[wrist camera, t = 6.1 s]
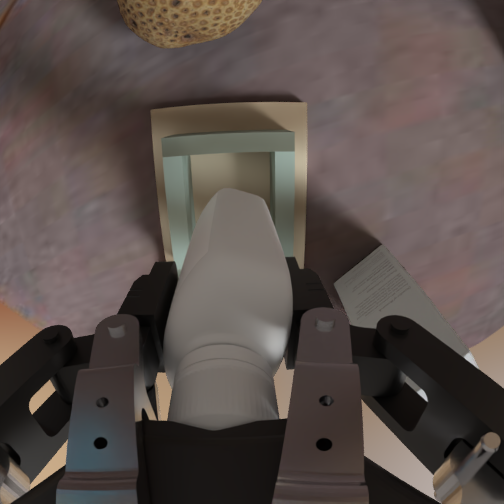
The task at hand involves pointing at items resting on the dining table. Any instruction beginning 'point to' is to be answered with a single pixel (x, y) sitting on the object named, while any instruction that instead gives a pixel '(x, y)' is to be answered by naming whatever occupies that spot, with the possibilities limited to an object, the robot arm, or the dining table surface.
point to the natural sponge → (184, 19)
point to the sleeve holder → (231, 166)
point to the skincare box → (393, 301)
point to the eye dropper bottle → (228, 317)
